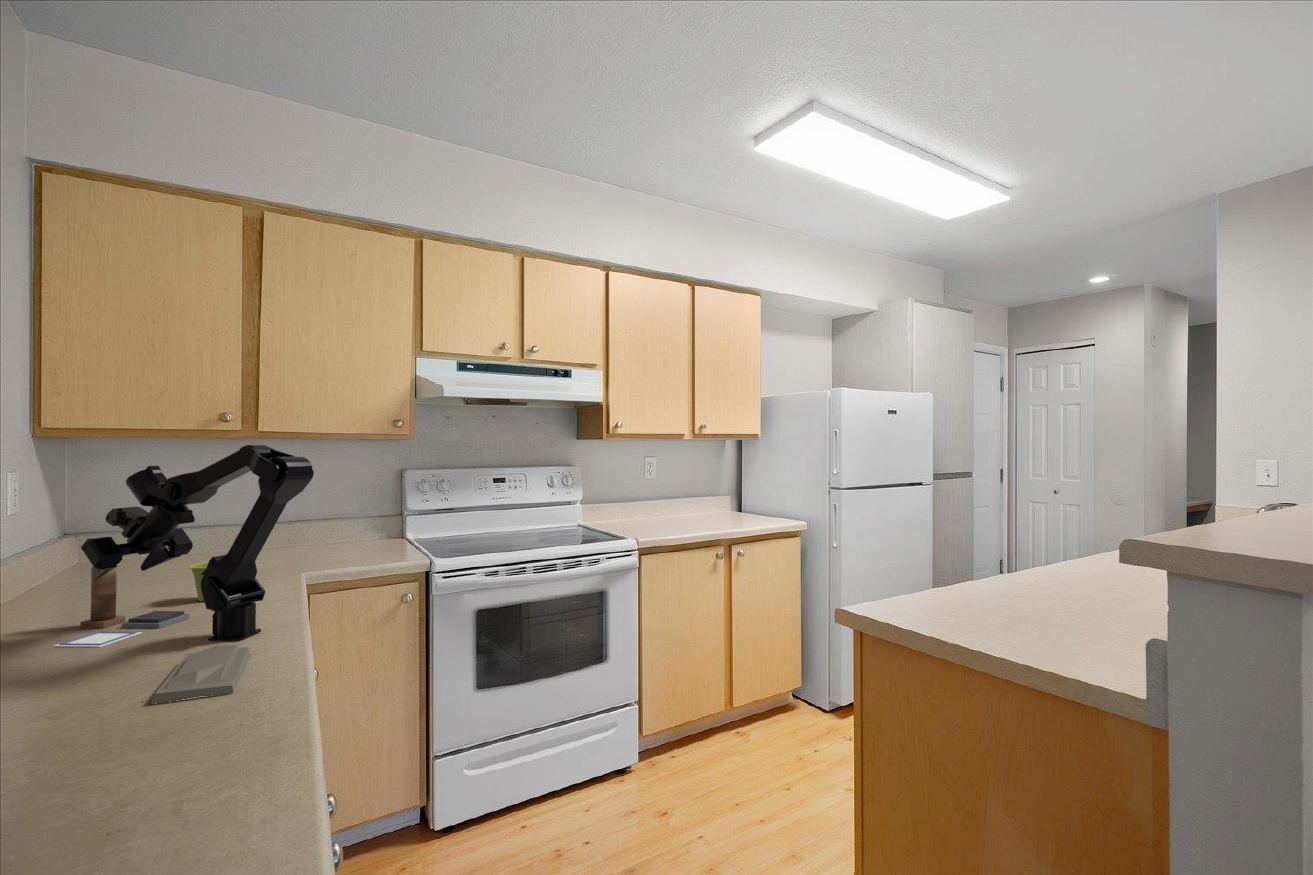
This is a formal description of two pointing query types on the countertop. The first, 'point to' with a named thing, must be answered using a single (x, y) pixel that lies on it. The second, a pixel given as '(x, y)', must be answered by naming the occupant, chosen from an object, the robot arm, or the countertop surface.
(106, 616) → the stamp
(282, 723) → the countertop surface
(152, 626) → the ink pad
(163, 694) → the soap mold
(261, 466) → the robot arm
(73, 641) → the print card
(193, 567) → the plant pot
